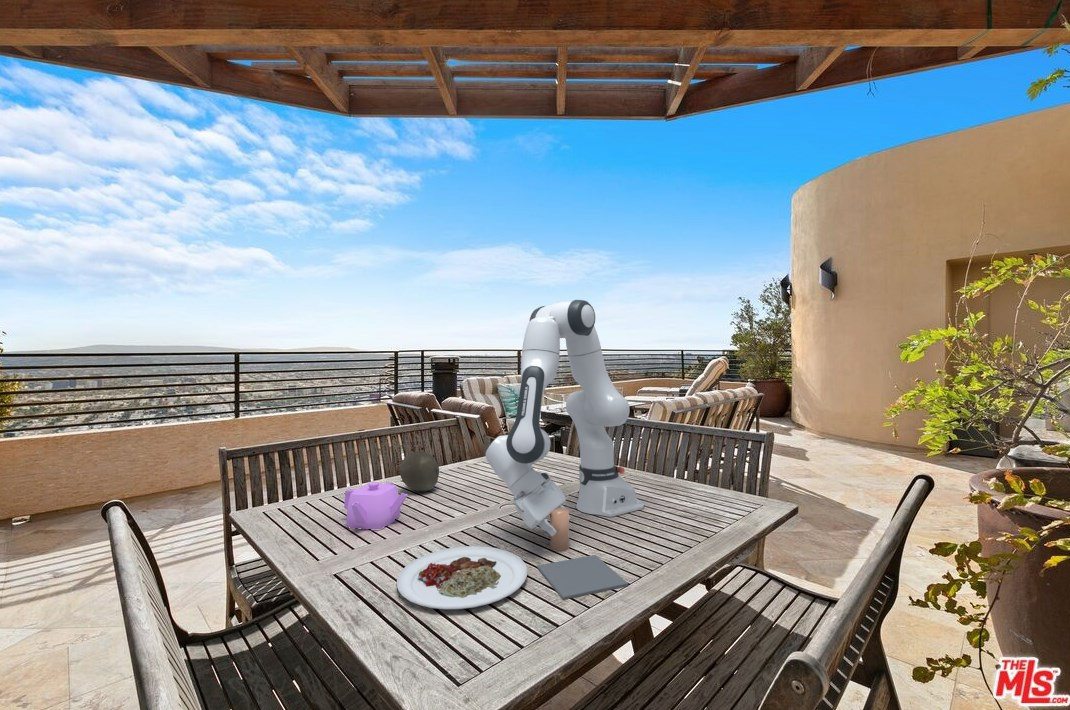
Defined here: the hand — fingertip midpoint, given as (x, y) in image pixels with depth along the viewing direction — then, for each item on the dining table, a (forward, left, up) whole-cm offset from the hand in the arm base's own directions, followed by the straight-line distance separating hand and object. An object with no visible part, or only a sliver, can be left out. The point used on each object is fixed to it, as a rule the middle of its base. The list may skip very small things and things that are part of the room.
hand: (561, 527), depth 130 cm
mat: (+2, +17, -5) cm, 18 cm away
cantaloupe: (+29, -66, -6) cm, 73 cm away
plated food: (+28, +8, -6) cm, 30 cm away
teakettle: (+46, -39, -6) cm, 61 cm away
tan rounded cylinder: (0, 0, -5) cm, 5 cm away
